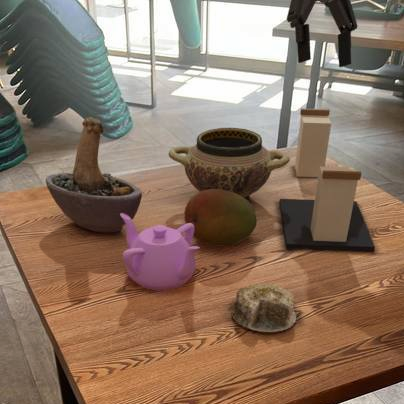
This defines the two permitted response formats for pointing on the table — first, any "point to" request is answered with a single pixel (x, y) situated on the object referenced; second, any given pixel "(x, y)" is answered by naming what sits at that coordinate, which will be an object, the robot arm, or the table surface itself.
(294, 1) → the robot arm
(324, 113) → the cream rectangular block
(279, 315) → the cake
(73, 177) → the planter
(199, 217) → the fruit
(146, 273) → the teapot
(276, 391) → the table surface
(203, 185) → the ceramic bowl
